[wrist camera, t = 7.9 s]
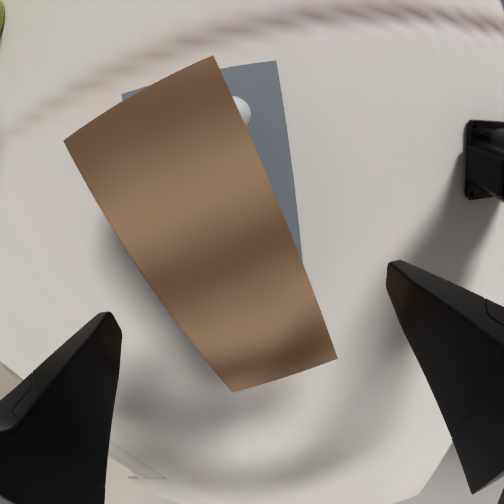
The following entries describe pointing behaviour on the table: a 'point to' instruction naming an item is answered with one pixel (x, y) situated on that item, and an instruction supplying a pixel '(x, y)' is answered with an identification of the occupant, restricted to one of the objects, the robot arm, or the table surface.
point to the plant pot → (1, 15)
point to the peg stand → (264, 130)
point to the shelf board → (205, 225)
